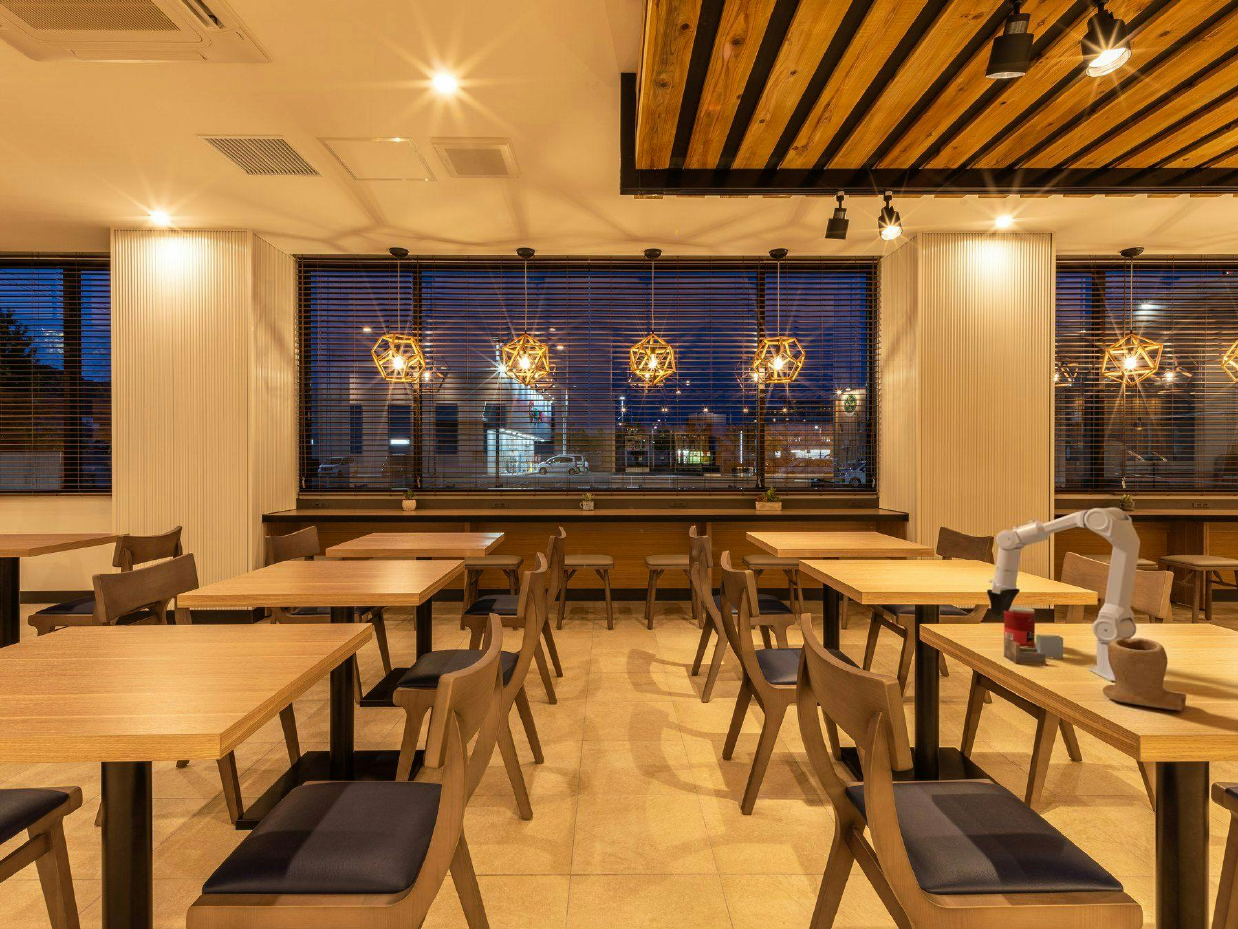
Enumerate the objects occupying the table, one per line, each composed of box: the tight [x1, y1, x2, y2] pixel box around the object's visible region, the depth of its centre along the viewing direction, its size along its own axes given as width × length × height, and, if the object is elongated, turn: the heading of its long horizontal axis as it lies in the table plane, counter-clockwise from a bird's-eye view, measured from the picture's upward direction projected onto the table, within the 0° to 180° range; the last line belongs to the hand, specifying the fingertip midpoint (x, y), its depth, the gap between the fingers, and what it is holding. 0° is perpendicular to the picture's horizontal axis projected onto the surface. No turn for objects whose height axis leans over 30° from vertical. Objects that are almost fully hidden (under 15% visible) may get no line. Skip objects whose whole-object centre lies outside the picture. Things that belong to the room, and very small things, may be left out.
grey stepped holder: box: [1003, 636, 1048, 666], centre depth 172 cm, size 7×8×6 cm
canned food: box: [1003, 605, 1036, 647], centre depth 189 cm, size 8×8×11 cm
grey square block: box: [1035, 634, 1064, 659], centre depth 176 cm, size 2×6×6 cm, turn 81°
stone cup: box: [1102, 637, 1187, 712], centre depth 140 cm, size 15×12×15 cm
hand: (1000, 612), depth 185 cm, fingers open, 7 cm apart
